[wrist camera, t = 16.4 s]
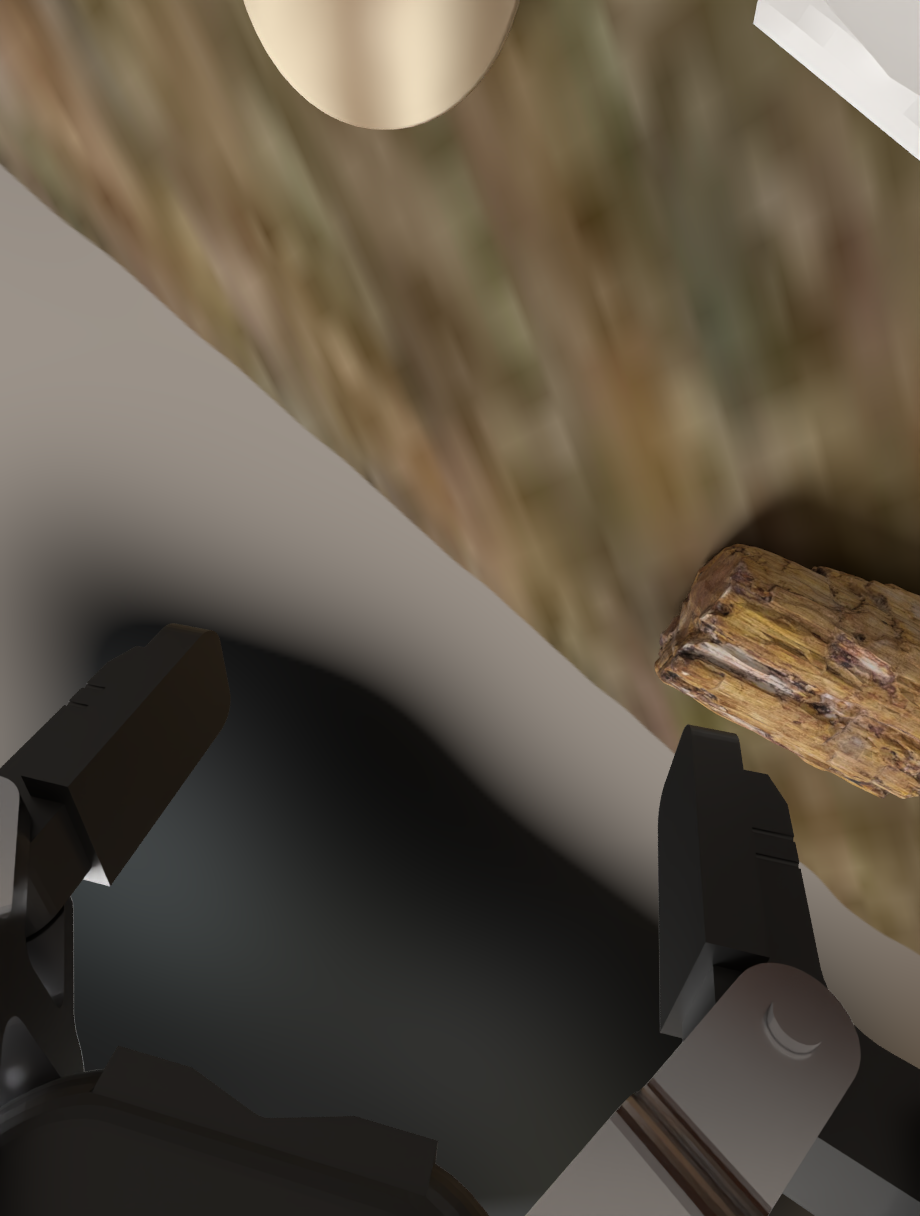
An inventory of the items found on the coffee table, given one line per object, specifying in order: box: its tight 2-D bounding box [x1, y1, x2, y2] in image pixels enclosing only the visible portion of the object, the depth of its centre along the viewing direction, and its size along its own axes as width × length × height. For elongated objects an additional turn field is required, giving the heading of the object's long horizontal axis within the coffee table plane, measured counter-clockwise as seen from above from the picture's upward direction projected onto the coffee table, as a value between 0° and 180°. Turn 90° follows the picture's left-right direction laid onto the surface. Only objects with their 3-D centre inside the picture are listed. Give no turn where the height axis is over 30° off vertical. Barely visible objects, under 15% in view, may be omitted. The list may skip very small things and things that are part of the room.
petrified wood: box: [654, 544, 920, 799], centre depth 46 cm, size 19×13×10 cm
